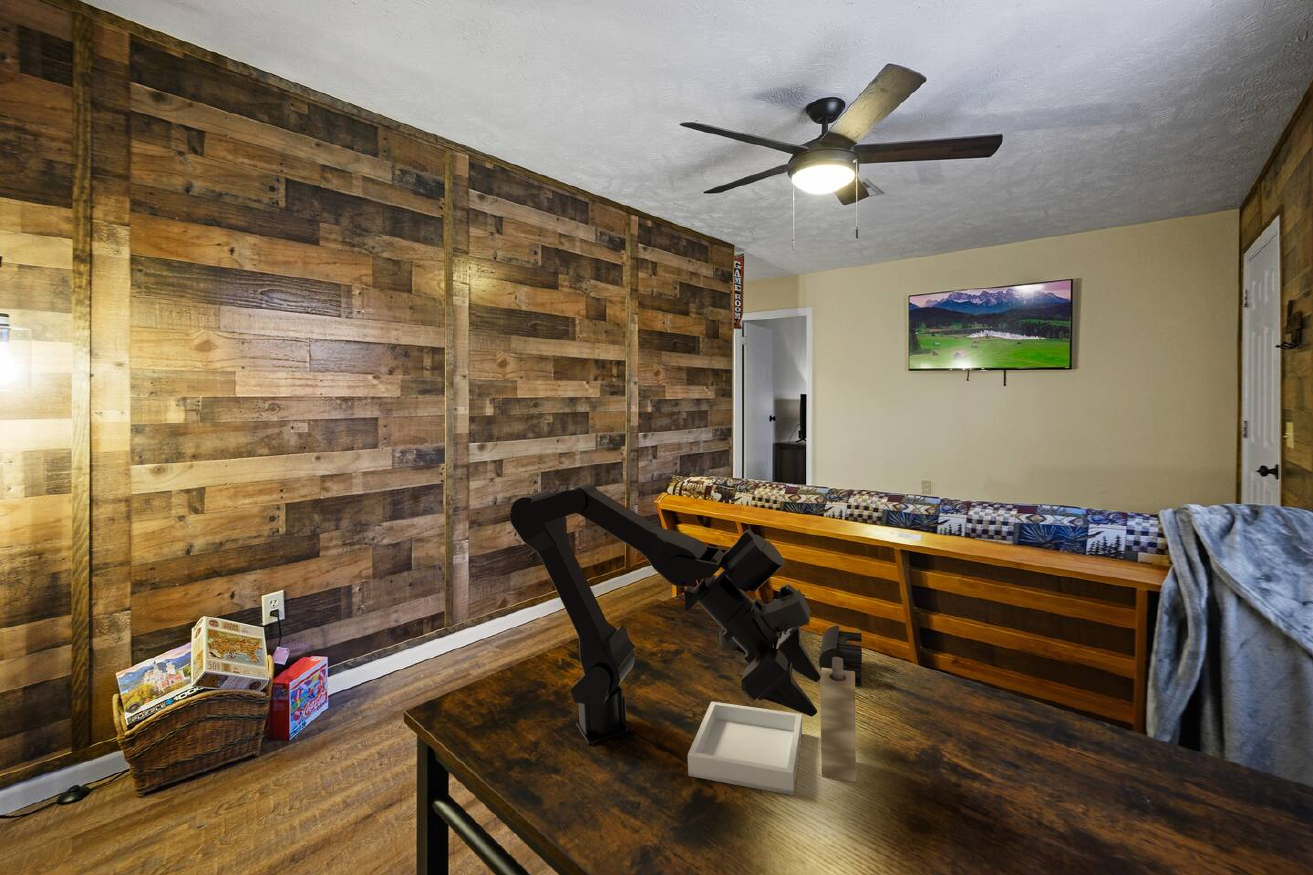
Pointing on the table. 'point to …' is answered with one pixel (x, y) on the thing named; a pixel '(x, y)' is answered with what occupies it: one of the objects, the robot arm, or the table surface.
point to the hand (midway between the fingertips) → (816, 695)
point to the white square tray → (747, 747)
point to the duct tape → (727, 644)
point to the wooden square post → (838, 722)
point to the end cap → (842, 651)
